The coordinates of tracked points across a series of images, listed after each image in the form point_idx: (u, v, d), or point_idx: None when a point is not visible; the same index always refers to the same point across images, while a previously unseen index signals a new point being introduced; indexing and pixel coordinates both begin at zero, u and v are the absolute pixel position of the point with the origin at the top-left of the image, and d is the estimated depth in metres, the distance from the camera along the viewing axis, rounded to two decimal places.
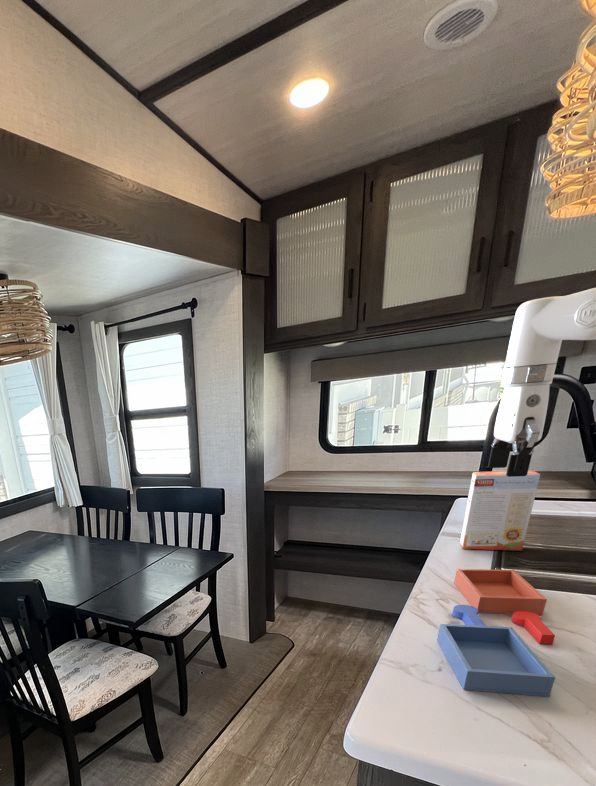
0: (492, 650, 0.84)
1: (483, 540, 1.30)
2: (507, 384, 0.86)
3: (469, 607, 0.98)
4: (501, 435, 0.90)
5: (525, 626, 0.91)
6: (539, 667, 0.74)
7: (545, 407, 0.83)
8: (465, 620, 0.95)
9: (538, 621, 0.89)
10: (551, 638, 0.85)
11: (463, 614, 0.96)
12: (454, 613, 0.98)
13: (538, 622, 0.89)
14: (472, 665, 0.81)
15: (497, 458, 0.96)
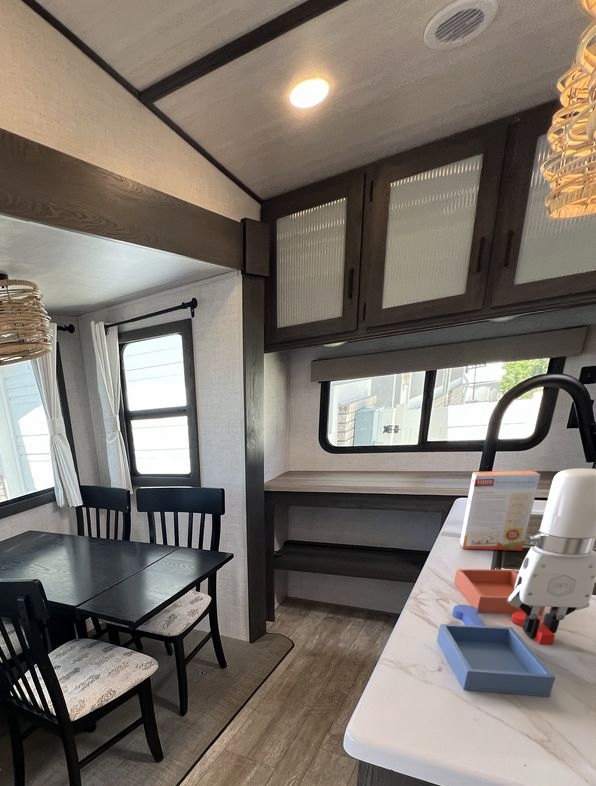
0: (492, 650, 0.84)
1: (483, 540, 1.30)
2: None
3: (469, 607, 0.98)
4: None
5: None
6: (539, 667, 0.74)
7: (529, 573, 0.83)
8: (465, 620, 0.95)
9: None
10: (551, 638, 0.85)
11: (463, 614, 0.96)
12: (454, 613, 0.98)
13: None
14: (472, 665, 0.81)
15: (545, 625, 0.88)
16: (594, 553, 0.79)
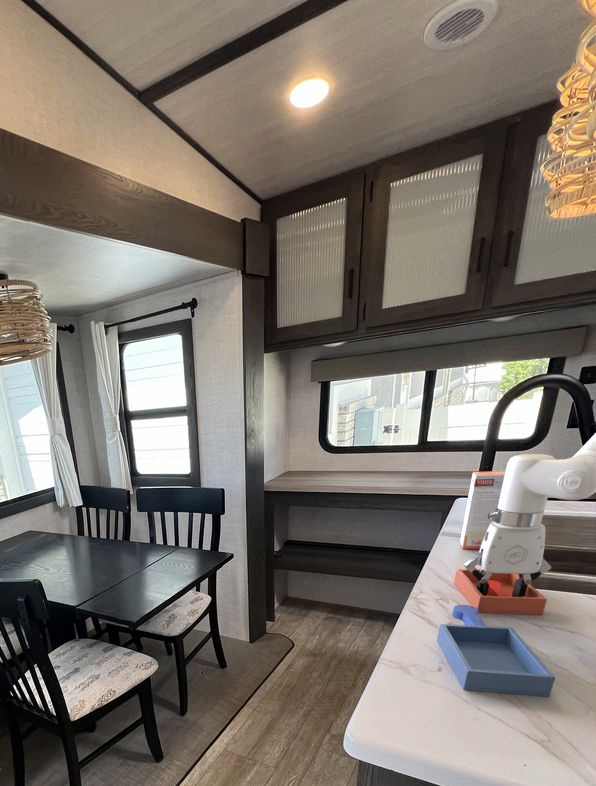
0: (492, 650, 0.84)
1: None
2: None
3: (469, 607, 0.98)
4: None
5: None
6: (539, 667, 0.74)
7: (489, 545, 0.96)
8: (465, 620, 0.95)
9: (498, 587, 1.03)
10: None
11: (463, 614, 0.96)
12: (454, 613, 0.98)
13: (498, 587, 1.03)
14: (472, 665, 0.81)
15: (515, 590, 1.01)
16: (542, 526, 0.93)
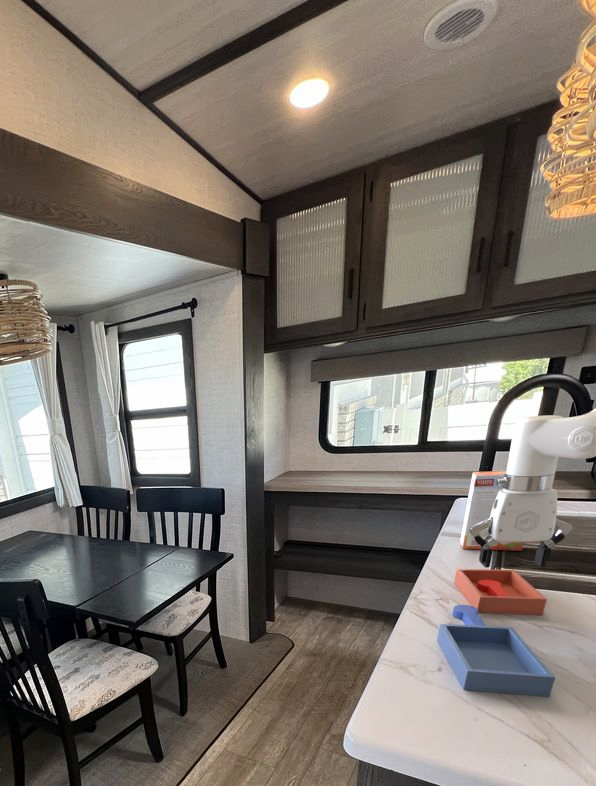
0: (492, 650, 0.84)
1: None
2: None
3: (469, 607, 0.98)
4: None
5: (487, 591, 1.05)
6: (539, 667, 0.74)
7: (498, 512, 0.93)
8: (465, 620, 0.95)
9: (498, 587, 1.03)
10: None
11: (463, 614, 0.96)
12: (454, 613, 0.98)
13: (498, 587, 1.03)
14: (472, 665, 0.81)
15: (538, 555, 0.96)
16: (554, 490, 0.90)
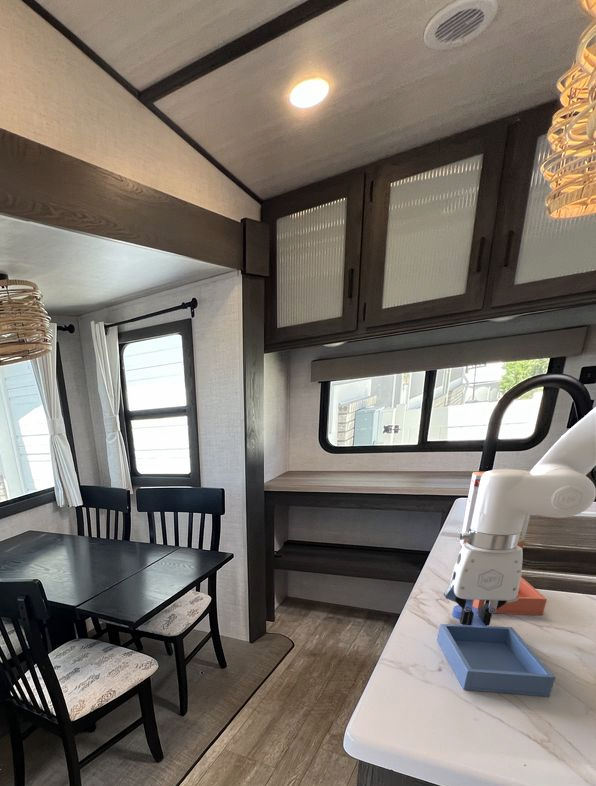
0: (492, 650, 0.84)
1: None
2: None
3: None
4: None
5: None
6: (539, 667, 0.74)
7: (461, 568, 0.87)
8: None
9: None
10: None
11: None
12: (454, 613, 0.98)
13: None
14: (472, 665, 0.81)
15: None
16: (519, 549, 0.84)
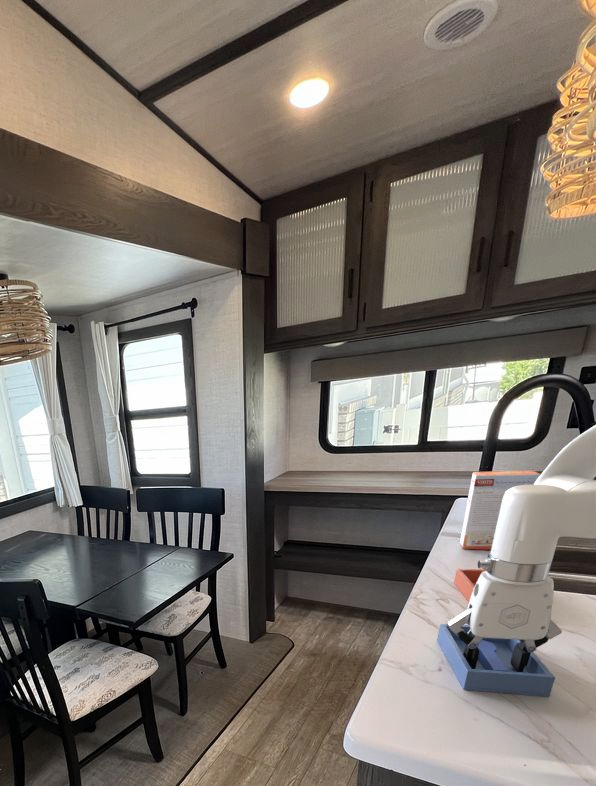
0: None
1: (483, 540, 1.30)
2: None
3: (485, 642, 0.84)
4: None
5: None
6: (539, 667, 0.74)
7: (479, 602, 0.73)
8: (481, 659, 0.81)
9: None
10: None
11: (479, 652, 0.82)
12: None
13: None
14: None
15: (515, 657, 0.78)
16: (550, 580, 0.70)
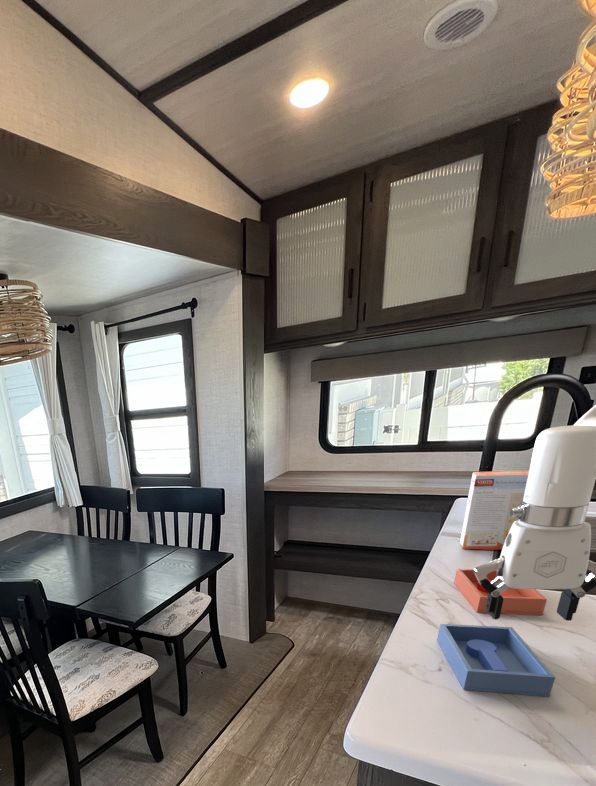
0: None
1: (483, 540, 1.30)
2: None
3: (485, 642, 0.84)
4: None
5: (487, 591, 1.05)
6: (539, 667, 0.74)
7: (513, 552, 0.71)
8: (481, 659, 0.81)
9: None
10: None
11: (479, 652, 0.82)
12: (468, 650, 0.84)
13: None
14: (472, 665, 0.81)
15: (562, 604, 0.75)
16: (587, 525, 0.68)
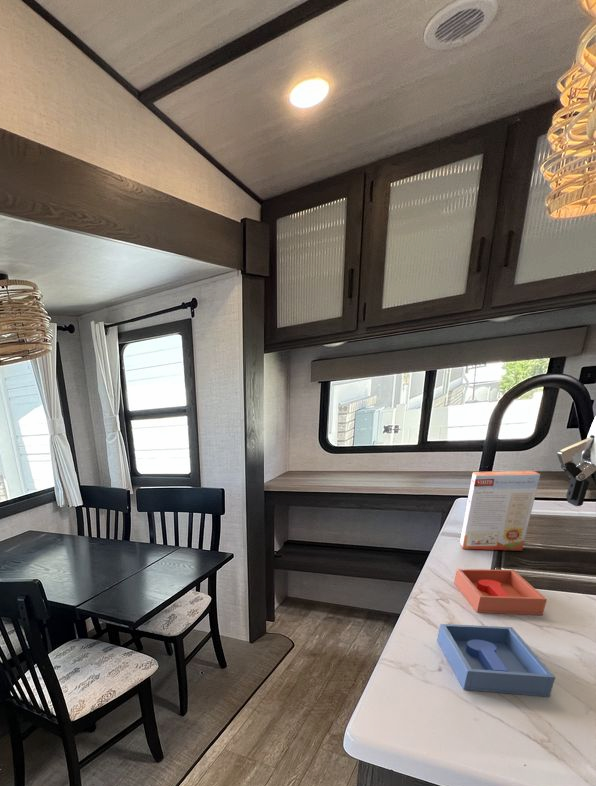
0: None
1: (483, 540, 1.30)
2: None
3: (485, 642, 0.84)
4: None
5: (487, 591, 1.05)
6: (539, 667, 0.74)
7: None
8: (481, 659, 0.81)
9: (498, 587, 1.03)
10: None
11: (479, 652, 0.82)
12: (468, 650, 0.84)
13: (498, 587, 1.03)
14: (472, 665, 0.81)
15: None
16: None
